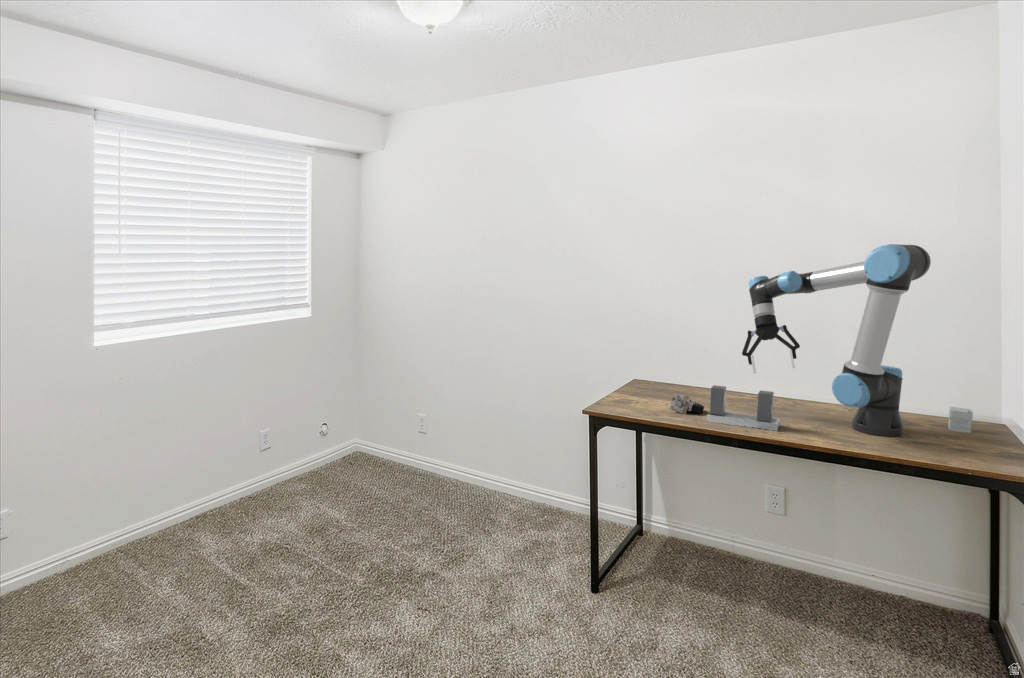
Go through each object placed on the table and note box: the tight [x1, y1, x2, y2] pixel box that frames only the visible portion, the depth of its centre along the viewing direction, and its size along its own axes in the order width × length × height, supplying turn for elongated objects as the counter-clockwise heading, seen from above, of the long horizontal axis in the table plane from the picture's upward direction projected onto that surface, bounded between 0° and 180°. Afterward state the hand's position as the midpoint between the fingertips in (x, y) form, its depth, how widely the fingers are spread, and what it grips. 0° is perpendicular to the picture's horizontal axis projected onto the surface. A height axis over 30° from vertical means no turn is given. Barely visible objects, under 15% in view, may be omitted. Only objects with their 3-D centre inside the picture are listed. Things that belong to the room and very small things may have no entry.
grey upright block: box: [756, 390, 775, 422], centre depth 203 cm, size 5×4×11 cm
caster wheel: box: [668, 393, 705, 415], centre depth 223 cm, size 7×11×10 cm
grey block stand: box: [706, 384, 781, 432], centre depth 207 cm, size 24×8×12 cm, turn 60°
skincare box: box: [947, 406, 974, 434], centre depth 199 cm, size 6×6×7 cm
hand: (774, 370), depth 214 cm, fingers open, 13 cm apart
